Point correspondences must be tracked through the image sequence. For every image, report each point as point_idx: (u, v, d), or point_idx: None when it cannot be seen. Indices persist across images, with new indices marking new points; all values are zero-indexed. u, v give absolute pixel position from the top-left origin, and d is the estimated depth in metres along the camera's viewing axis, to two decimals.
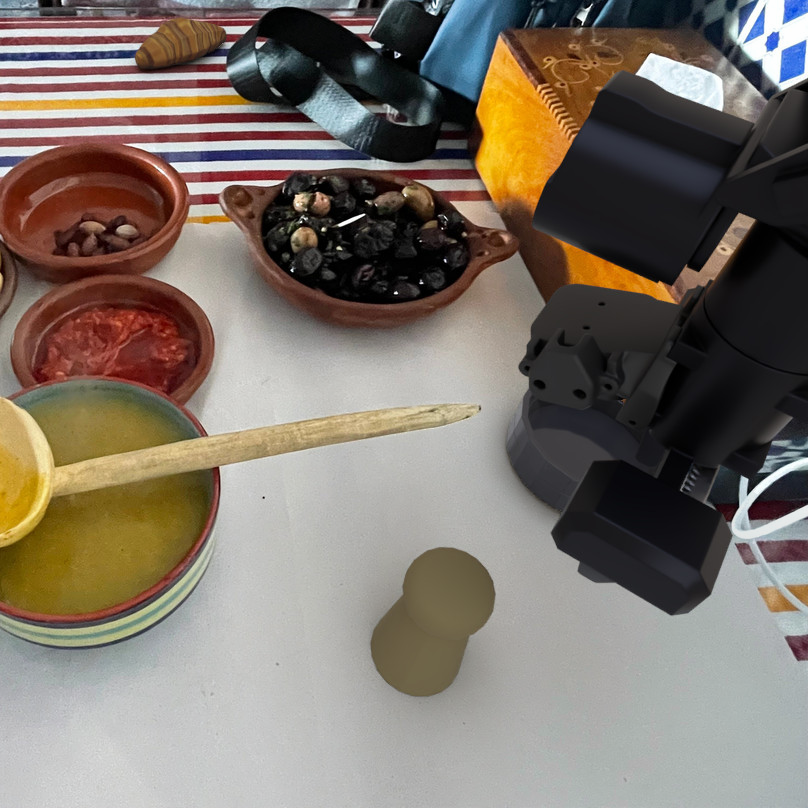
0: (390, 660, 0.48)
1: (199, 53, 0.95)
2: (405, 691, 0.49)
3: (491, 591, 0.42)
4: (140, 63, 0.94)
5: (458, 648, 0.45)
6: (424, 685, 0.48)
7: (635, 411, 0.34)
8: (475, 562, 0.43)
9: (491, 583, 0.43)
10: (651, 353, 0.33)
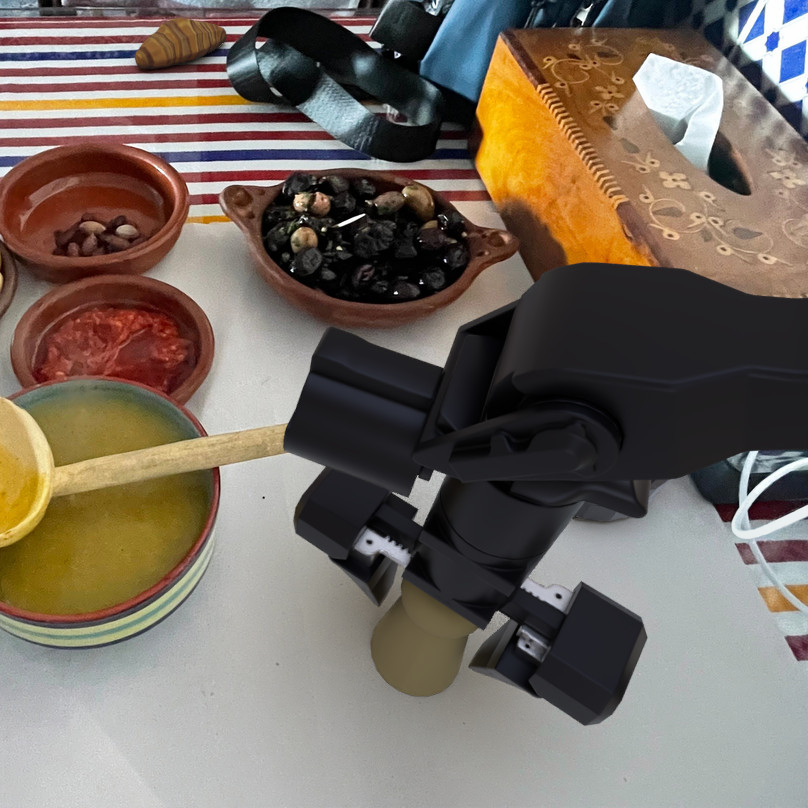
0: (390, 660, 0.48)
1: (199, 53, 0.95)
2: (405, 691, 0.49)
3: None
4: (140, 63, 0.94)
5: (457, 647, 0.45)
6: (424, 685, 0.48)
7: None
8: None
9: None
10: None
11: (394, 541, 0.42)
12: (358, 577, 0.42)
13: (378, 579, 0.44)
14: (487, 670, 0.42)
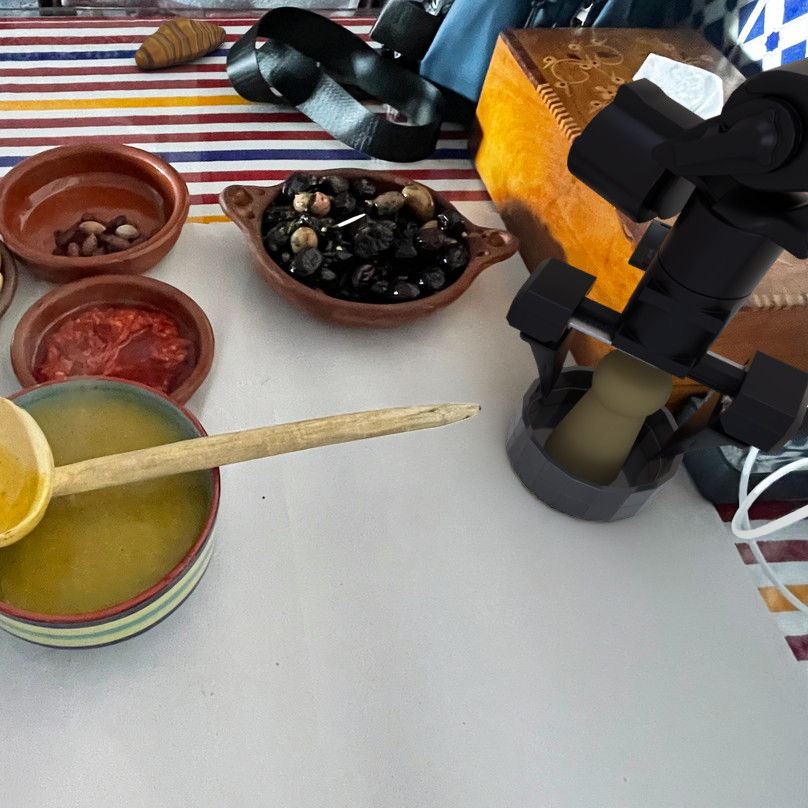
0: (570, 454, 0.58)
1: (199, 53, 0.95)
2: None
3: (671, 375, 0.52)
4: (140, 63, 0.94)
5: (634, 434, 0.55)
6: (598, 474, 0.58)
7: None
8: None
9: None
10: None
11: (596, 325, 0.52)
12: (548, 349, 0.53)
13: (558, 358, 0.54)
14: (691, 439, 0.51)
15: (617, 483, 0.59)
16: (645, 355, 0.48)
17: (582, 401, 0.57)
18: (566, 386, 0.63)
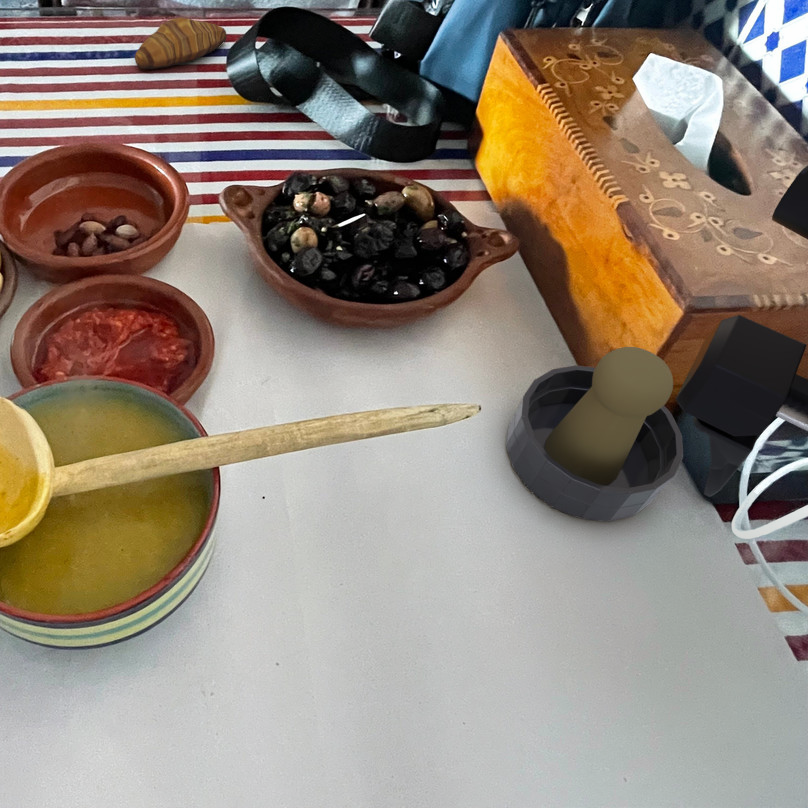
0: (570, 454, 0.58)
1: (199, 53, 0.95)
2: None
3: (671, 375, 0.52)
4: (140, 63, 0.94)
5: (634, 434, 0.55)
6: (598, 474, 0.58)
7: None
8: (655, 356, 0.53)
9: (669, 371, 0.53)
10: None
11: None
12: (740, 445, 0.38)
13: None
14: None
15: (617, 483, 0.59)
16: None
17: (582, 401, 0.57)
18: (566, 386, 0.63)
